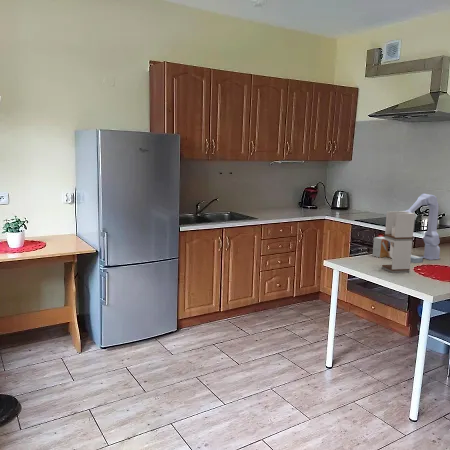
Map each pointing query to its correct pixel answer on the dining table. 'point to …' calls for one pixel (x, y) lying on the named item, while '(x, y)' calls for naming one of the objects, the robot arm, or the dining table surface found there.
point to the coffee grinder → (399, 240)
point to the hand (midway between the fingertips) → (395, 256)
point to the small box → (380, 247)
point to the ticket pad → (416, 259)
